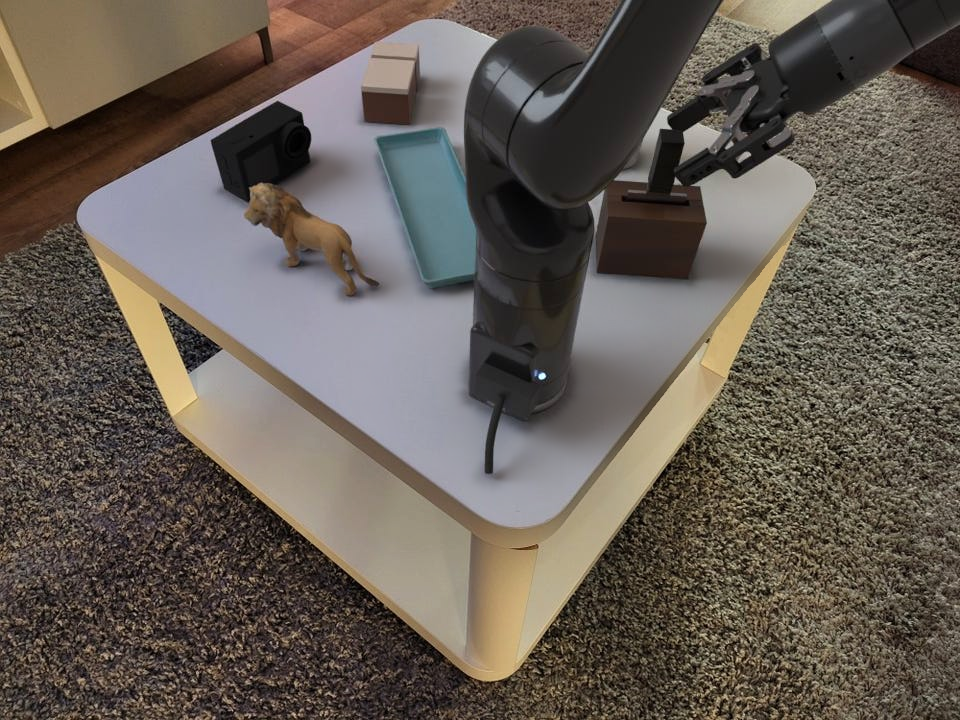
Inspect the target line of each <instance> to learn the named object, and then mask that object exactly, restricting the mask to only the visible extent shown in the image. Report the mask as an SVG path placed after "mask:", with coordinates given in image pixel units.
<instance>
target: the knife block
mask: <svg viewBox="0 0 960 720" xmlns="http://www.w3.org/2000/svg"><path fill="white" fill-rule="evenodd" d="M647 182H648V181H647ZM647 182H646V181H631V180H617V179H614V180H613V181H612V182H611V183H610V184H609V185H608V186H607V187H606V188H605V189H604V190H603V195H602V200H601V206H600V210H599V216H598V220H597V226H596V232H595V235H594V236H595V262H596V263H595V267H596V273H598V274H609V275H612V274H613V275H622V276H623V275H624V276H638V277H639V276H640V277H649V278H650V277H651V278H652V277H653V278H664V279H665V278H667V279H679V280H689V277H690V274H691V271H692V268H693V267H694V264H695V260H696V257H697V253H698V250H699V248H700V245H701V242H702V239H703V236H704V233H705V230H706V226H707V224H708V222H707V215H706V210H705V205H704V199H703V193H702V189H701V186H700V185H690V186H688V187H685V186H683V185H682V184H675V183H674V184H673V188H672V191H671V193H682V194H687V197H686V200H685V204H684V206H679V205H665V204H651V203H637V202H626V197H627V193H628V190H639V191H646V185H647Z"/></svg>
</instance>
